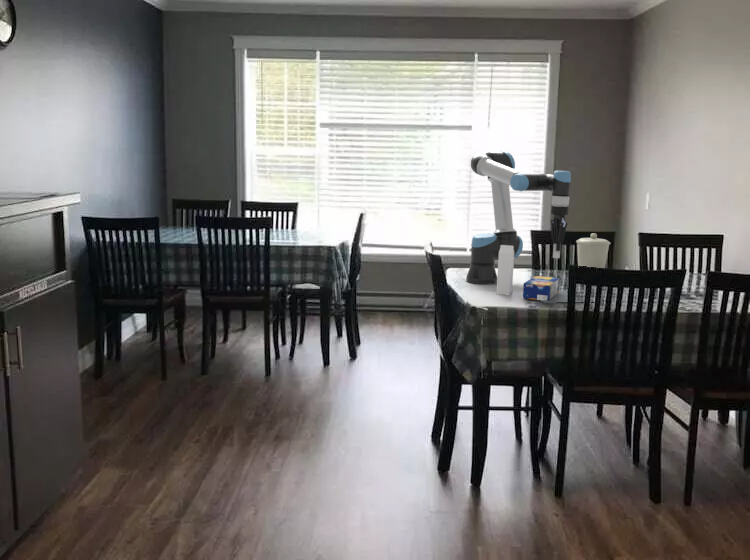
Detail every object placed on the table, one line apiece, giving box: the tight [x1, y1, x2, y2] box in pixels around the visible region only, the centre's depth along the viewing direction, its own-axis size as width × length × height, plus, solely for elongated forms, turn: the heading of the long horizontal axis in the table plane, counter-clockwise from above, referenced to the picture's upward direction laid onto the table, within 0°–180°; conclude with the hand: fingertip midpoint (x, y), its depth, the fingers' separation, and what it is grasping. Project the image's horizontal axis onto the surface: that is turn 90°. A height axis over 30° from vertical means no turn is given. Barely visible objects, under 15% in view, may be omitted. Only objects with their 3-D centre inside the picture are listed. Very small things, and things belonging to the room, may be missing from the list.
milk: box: [495, 245, 515, 296], centre depth 333 cm, size 6×6×22 cm
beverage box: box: [522, 275, 560, 301], centre depth 329 cm, size 7×11×22 cm
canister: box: [575, 232, 611, 269], centre depth 404 cm, size 18×18×21 cm
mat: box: [539, 290, 568, 304], centre depth 329 cm, size 26×24×1 cm
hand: (556, 257), depth 334 cm, fingers closed
